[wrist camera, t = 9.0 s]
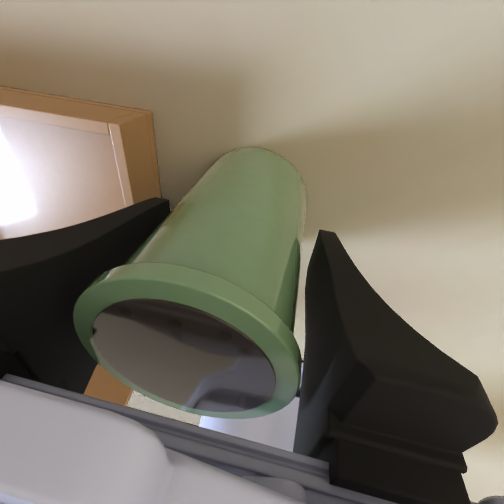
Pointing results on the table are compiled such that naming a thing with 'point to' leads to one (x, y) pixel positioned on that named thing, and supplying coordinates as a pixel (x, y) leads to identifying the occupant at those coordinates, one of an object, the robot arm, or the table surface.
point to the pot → (209, 295)
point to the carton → (70, 161)
